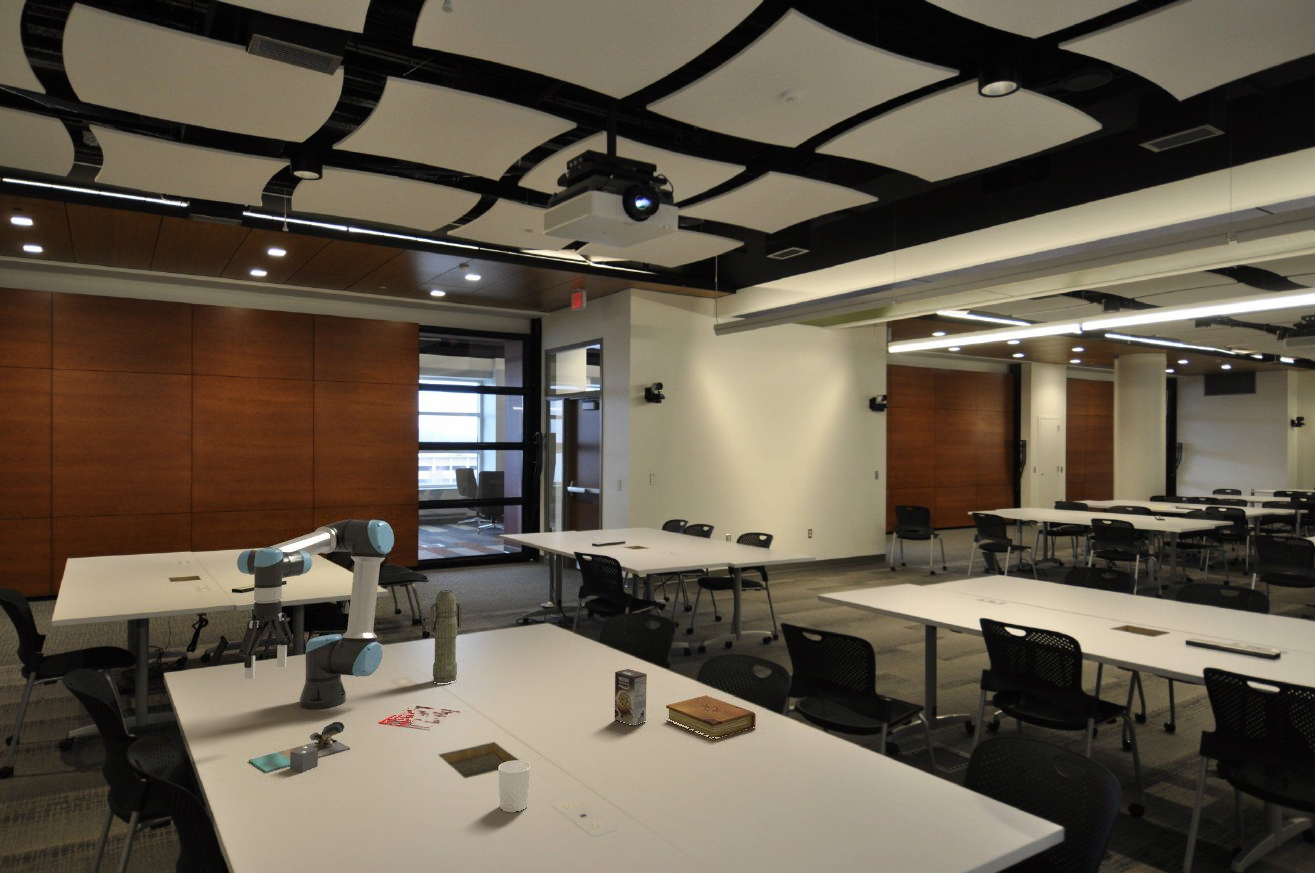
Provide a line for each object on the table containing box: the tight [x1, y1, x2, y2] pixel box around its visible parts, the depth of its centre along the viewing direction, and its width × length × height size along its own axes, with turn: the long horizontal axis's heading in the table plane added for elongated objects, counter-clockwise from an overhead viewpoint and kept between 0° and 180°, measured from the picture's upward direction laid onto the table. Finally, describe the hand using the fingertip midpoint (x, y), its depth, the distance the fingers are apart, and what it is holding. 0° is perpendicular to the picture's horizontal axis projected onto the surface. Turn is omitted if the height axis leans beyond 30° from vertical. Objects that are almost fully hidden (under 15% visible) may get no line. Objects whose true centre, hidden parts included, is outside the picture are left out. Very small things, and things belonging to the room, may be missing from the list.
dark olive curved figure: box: [309, 721, 345, 751], centre depth 236 cm, size 8×7×9 cm
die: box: [289, 746, 319, 773], centre depth 220 cm, size 5×5×5 cm
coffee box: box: [614, 668, 648, 725], centre depth 261 cm, size 9×6×16 cm
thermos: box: [429, 589, 462, 683], centre depth 307 cm, size 9×12×35 cm
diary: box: [665, 695, 757, 740], centre depth 259 cm, size 23×19×6 cm
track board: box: [248, 740, 351, 773], centre depth 230 cm, size 24×12×1 cm, turn 138°
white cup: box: [497, 759, 531, 813], centre depth 197 cm, size 8×8×10 cm
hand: (266, 672), depth 235 cm, fingers open, 13 cm apart
